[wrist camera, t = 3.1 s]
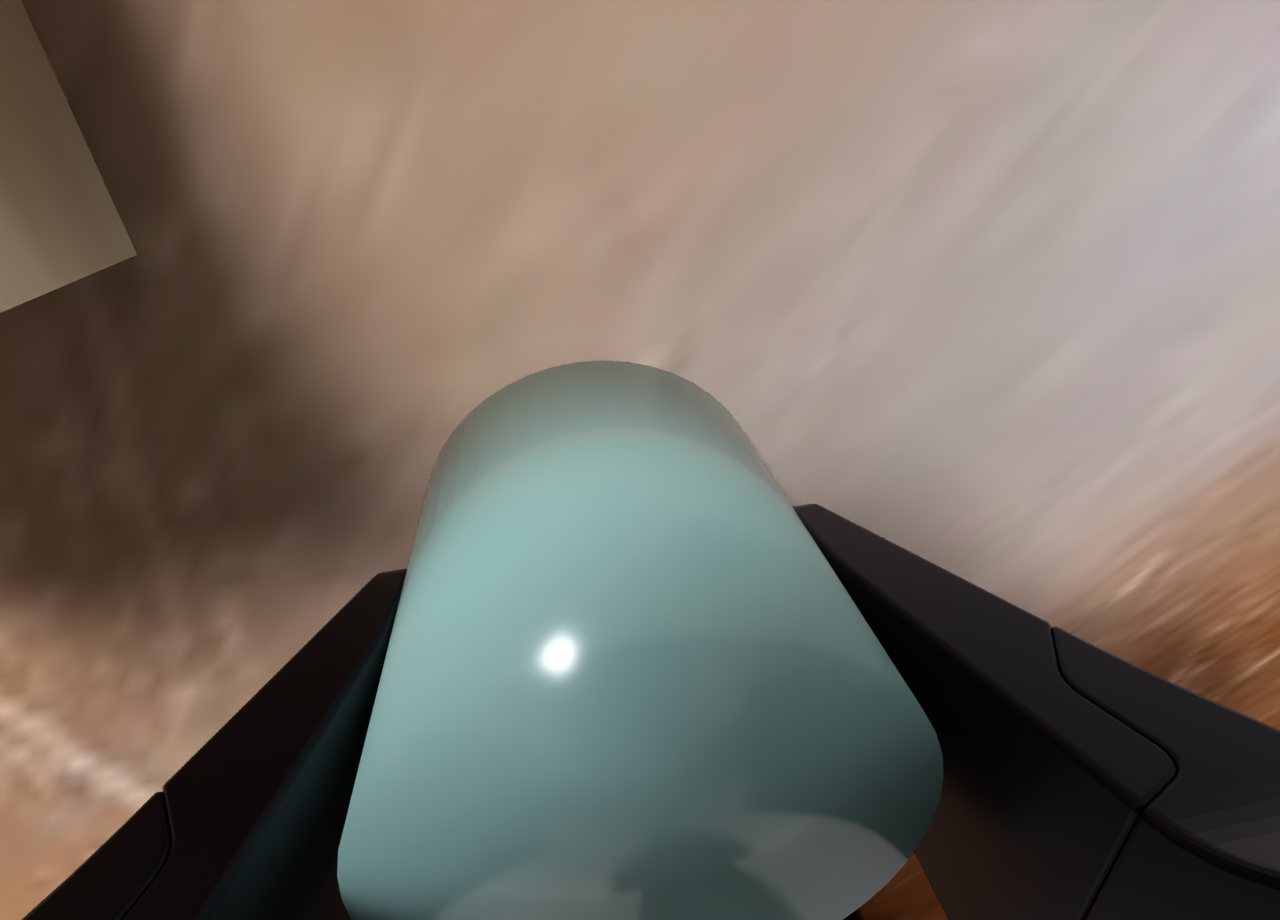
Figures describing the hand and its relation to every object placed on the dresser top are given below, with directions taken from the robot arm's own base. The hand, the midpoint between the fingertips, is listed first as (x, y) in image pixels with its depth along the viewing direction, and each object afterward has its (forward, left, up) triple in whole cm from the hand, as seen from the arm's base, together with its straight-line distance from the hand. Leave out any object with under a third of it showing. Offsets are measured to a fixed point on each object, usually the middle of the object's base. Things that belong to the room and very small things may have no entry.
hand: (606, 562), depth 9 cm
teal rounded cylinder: (0, 0, -1) cm, 1 cm away
